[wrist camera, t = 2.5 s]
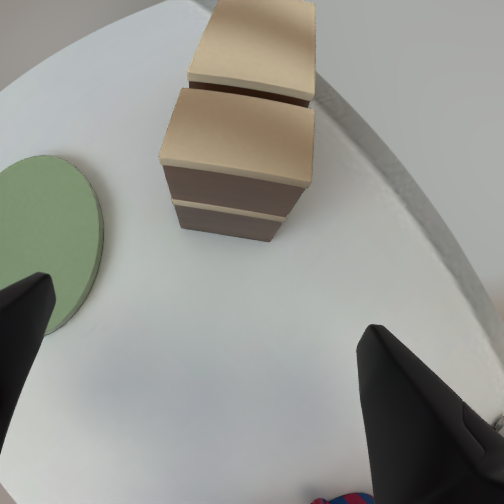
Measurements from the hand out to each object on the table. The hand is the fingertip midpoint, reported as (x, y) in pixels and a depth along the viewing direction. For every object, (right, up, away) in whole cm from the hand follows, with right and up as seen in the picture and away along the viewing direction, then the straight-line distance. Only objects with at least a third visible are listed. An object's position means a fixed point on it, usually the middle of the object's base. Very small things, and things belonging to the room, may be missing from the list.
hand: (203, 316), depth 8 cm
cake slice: (0, +5, +15) cm, 16 cm away
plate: (-17, +2, +12) cm, 21 cm away
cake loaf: (+1, +13, +17) cm, 21 cm away
